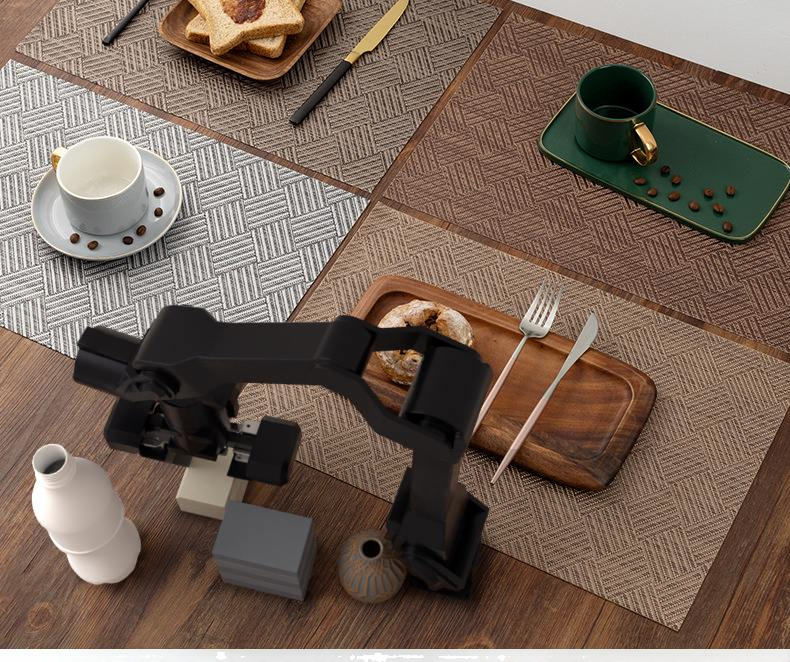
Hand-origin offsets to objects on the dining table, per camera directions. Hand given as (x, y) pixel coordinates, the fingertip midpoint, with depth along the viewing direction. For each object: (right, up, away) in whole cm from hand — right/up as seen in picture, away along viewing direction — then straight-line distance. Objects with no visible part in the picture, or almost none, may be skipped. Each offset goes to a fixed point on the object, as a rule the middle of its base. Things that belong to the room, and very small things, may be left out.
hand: (214, 468), depth 118 cm
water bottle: (-11, -9, -1) cm, 14 cm away
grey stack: (+6, -10, -1) cm, 11 cm away
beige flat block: (0, 0, +1) cm, 1 cm away
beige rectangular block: (0, -2, +3) cm, 4 cm away
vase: (+17, -11, -2) cm, 20 cm away
